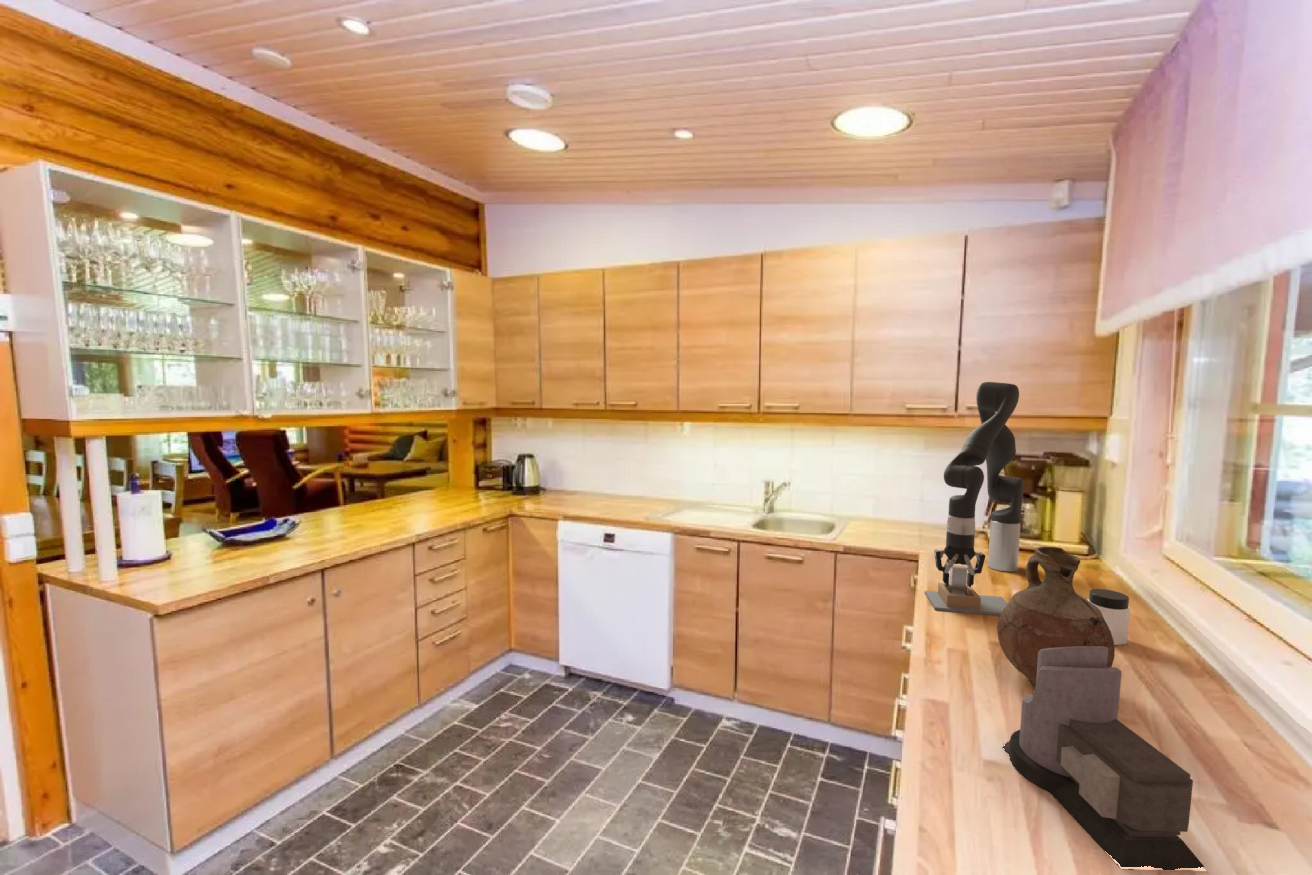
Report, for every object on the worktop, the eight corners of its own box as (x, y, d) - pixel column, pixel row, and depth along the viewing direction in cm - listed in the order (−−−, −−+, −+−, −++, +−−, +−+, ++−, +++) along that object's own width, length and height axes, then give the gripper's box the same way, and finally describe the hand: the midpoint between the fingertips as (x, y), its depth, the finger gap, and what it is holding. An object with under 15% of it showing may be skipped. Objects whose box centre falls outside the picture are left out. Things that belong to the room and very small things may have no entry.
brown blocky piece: (986, 737, 110) (994, 611, 107) (1072, 738, 109) (1082, 612, 107) (1106, 870, 80) (1120, 700, 77) (1225, 872, 79) (1243, 702, 77)
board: (924, 593, 184) (925, 580, 184) (1001, 599, 179) (1002, 586, 179) (934, 609, 171) (935, 596, 170) (1018, 617, 166) (1019, 602, 165)
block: (948, 596, 179) (950, 565, 178) (962, 598, 178) (964, 566, 177) (953, 603, 173) (955, 570, 172) (968, 604, 172) (970, 571, 171)
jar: (1131, 640, 151) (1134, 595, 150) (1122, 649, 146) (1126, 602, 145) (1089, 628, 158) (1092, 585, 157) (1080, 636, 153) (1083, 592, 152)
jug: (1056, 716, 116) (1066, 570, 113) (971, 666, 137) (978, 541, 134) (1136, 701, 122) (1149, 562, 119) (1043, 655, 143) (1052, 535, 140)
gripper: (983, 529, 177) (979, 583, 179) (931, 526, 180) (929, 579, 182) (991, 535, 170) (987, 591, 171) (937, 532, 173) (934, 587, 175)
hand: (957, 584), depth 177 cm, fingers open, 5 cm apart
